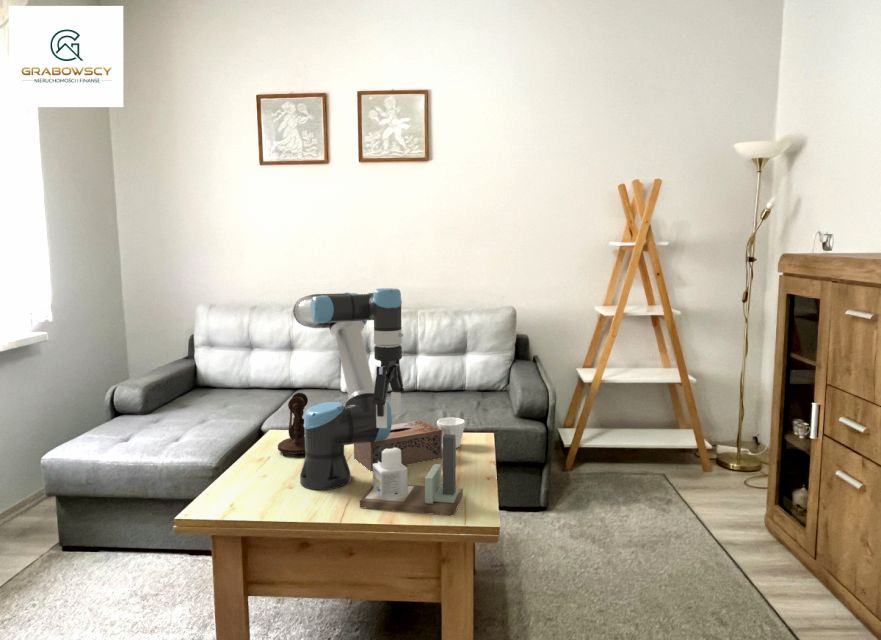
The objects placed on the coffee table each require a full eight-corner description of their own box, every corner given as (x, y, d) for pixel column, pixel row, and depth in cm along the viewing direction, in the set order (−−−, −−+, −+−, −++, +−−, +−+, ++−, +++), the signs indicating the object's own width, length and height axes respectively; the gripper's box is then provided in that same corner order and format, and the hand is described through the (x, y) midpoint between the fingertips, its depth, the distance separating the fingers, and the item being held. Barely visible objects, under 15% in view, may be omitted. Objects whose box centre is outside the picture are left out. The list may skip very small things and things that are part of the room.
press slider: (425, 503, 170) (424, 440, 168) (434, 487, 181) (433, 429, 179) (452, 505, 169) (452, 442, 167) (460, 489, 179) (459, 430, 177)
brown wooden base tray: (359, 507, 173) (359, 500, 173) (375, 488, 187) (375, 481, 186) (453, 515, 167) (453, 507, 167) (462, 495, 181) (462, 488, 181)
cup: (436, 450, 221) (436, 425, 219) (437, 442, 230) (437, 417, 229) (465, 451, 220) (465, 425, 219) (465, 442, 230) (465, 417, 229)
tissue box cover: (421, 447, 225) (421, 419, 224) (441, 458, 213) (441, 430, 212) (354, 459, 213) (353, 430, 212) (371, 472, 200) (370, 442, 199)
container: (372, 489, 180) (371, 445, 179) (398, 485, 183) (397, 441, 182) (381, 499, 173) (381, 453, 172) (408, 494, 176) (407, 449, 175)
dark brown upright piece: (282, 444, 228) (280, 390, 226) (323, 443, 229) (322, 389, 227) (274, 458, 214) (271, 400, 211) (318, 457, 215) (316, 399, 212)
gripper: (387, 352, 160) (388, 434, 163) (413, 338, 185) (413, 410, 187) (359, 352, 162) (361, 432, 164) (388, 338, 186) (389, 408, 189)
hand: (389, 420), depth 176 cm, fingers open, 13 cm apart
